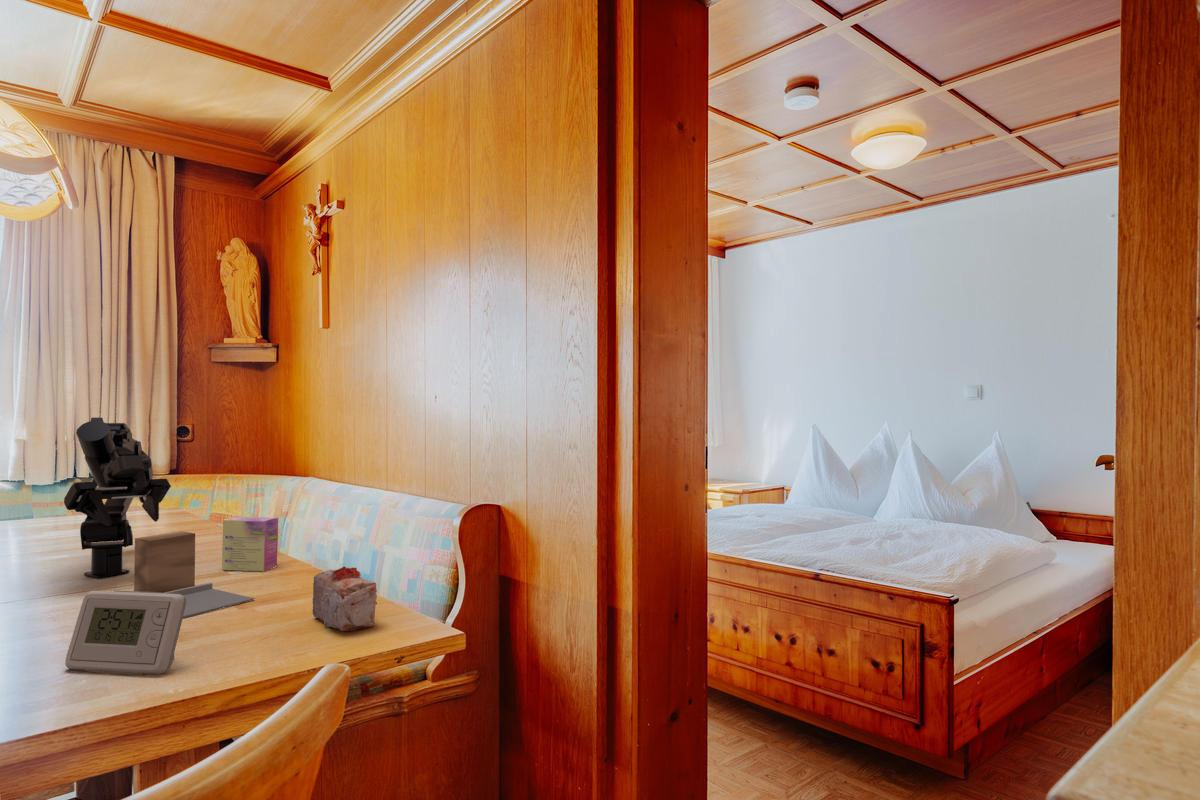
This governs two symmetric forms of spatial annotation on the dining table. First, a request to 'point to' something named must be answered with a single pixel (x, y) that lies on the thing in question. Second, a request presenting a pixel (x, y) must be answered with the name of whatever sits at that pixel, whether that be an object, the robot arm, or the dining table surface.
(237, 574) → the dining table surface
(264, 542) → the box
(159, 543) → the walnut block
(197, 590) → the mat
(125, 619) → the digital clock
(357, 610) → the food item
